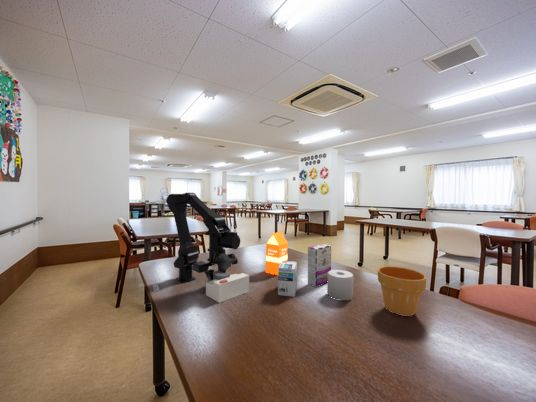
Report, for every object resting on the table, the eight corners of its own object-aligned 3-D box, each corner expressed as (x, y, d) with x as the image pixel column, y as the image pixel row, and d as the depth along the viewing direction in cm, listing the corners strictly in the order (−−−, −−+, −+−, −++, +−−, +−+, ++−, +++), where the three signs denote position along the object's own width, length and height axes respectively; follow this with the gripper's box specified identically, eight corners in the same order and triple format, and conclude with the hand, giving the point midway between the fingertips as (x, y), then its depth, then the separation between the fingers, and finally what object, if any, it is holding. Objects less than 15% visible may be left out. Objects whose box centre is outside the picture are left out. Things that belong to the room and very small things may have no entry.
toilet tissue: (343, 286, 100) (344, 266, 100) (356, 300, 86) (356, 277, 86) (322, 286, 99) (322, 266, 99) (332, 300, 86) (332, 277, 86)
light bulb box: (294, 297, 89) (295, 269, 89) (277, 295, 90) (277, 267, 90) (297, 286, 99) (297, 261, 99) (281, 285, 101) (281, 260, 100)
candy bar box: (322, 278, 110) (322, 243, 109) (331, 281, 106) (331, 245, 106) (306, 284, 102) (307, 246, 102) (316, 287, 99) (316, 248, 98)
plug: (210, 287, 97) (210, 272, 97) (218, 284, 100) (218, 270, 100) (223, 294, 90) (223, 278, 90) (231, 291, 93) (232, 276, 93)
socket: (205, 295, 90) (206, 276, 89) (235, 285, 100) (235, 268, 99) (219, 302, 83) (219, 283, 83) (249, 291, 93) (249, 274, 93)
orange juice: (287, 270, 120) (288, 231, 119) (278, 275, 112) (279, 234, 112) (274, 268, 124) (274, 230, 123) (265, 272, 117) (265, 232, 116)
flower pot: (418, 304, 84) (419, 268, 84) (431, 325, 71) (432, 282, 70) (374, 298, 89) (375, 264, 88) (379, 316, 75) (380, 276, 75)
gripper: (206, 253, 85) (206, 296, 85) (246, 246, 98) (245, 283, 98) (191, 248, 93) (191, 287, 93) (230, 242, 106) (229, 276, 106)
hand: (216, 283), depth 97 cm, fingers closed on plug, 4 cm apart
